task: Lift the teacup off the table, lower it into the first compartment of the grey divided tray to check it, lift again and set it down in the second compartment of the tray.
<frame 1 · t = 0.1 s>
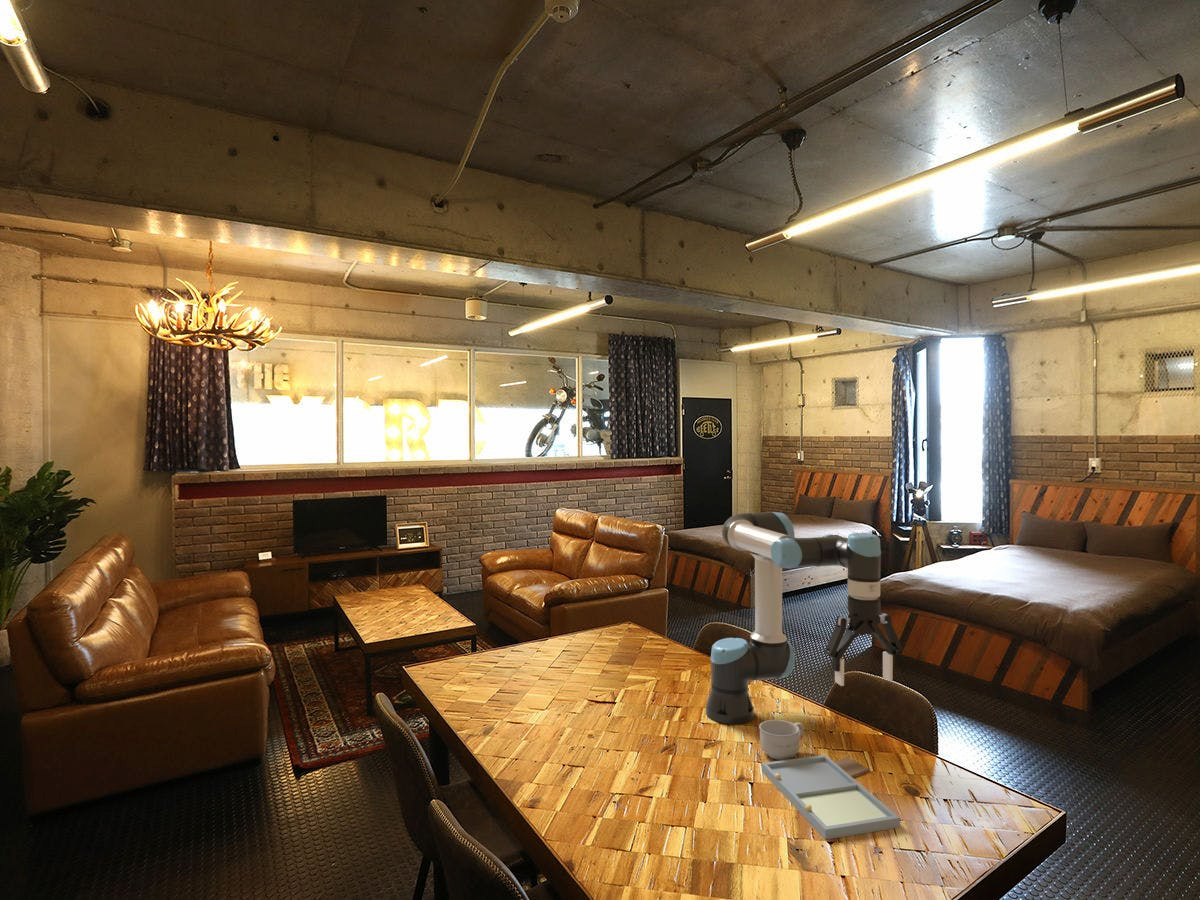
hand: (863, 681, 153), 28 cm above the table, fingers open, 13 cm apart
teacup: (784, 754, 173), on the table
walnut coaster: (849, 770, 165), on the table
grey divided tray: (825, 797, 151), on the table
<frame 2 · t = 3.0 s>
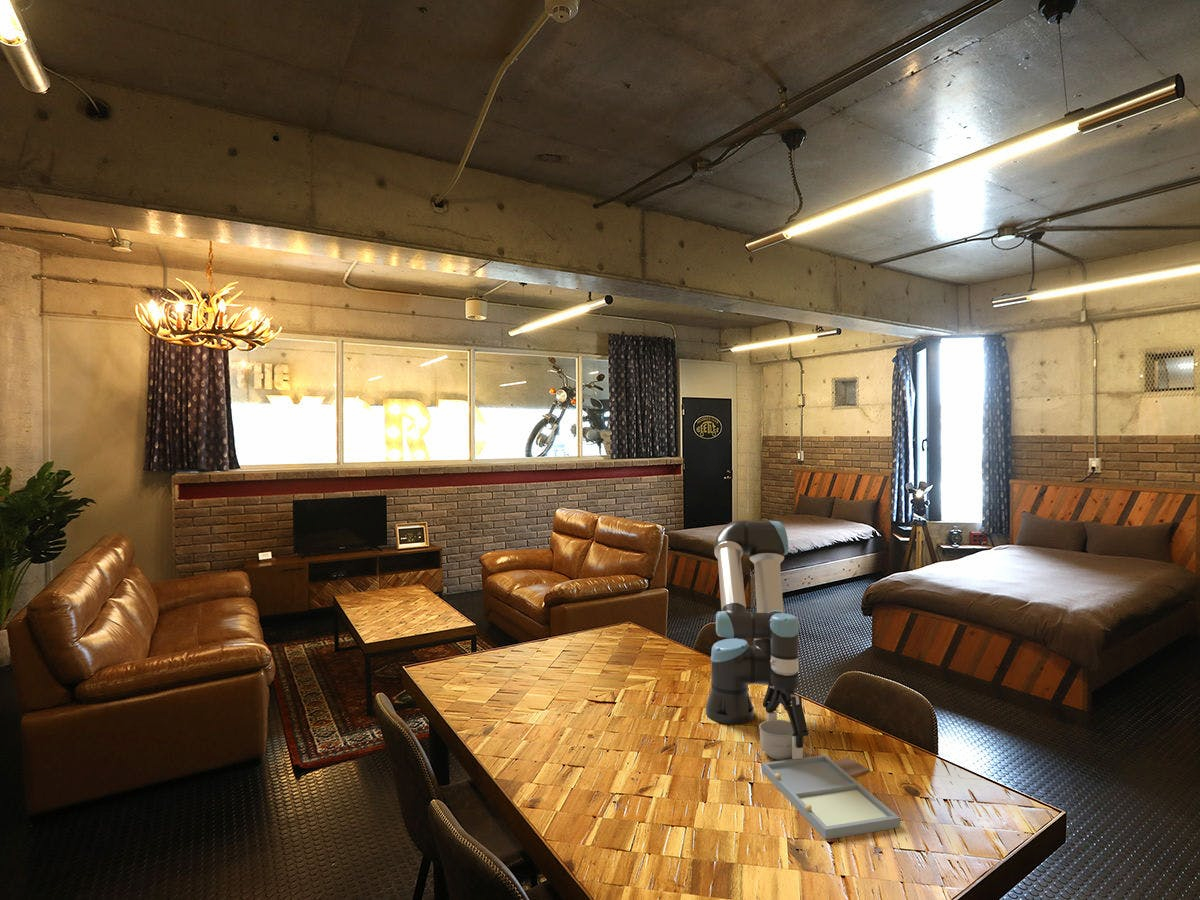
hand: (784, 746, 172), 2 cm above the table, fingers open, 13 cm apart
nothing on the table moved.
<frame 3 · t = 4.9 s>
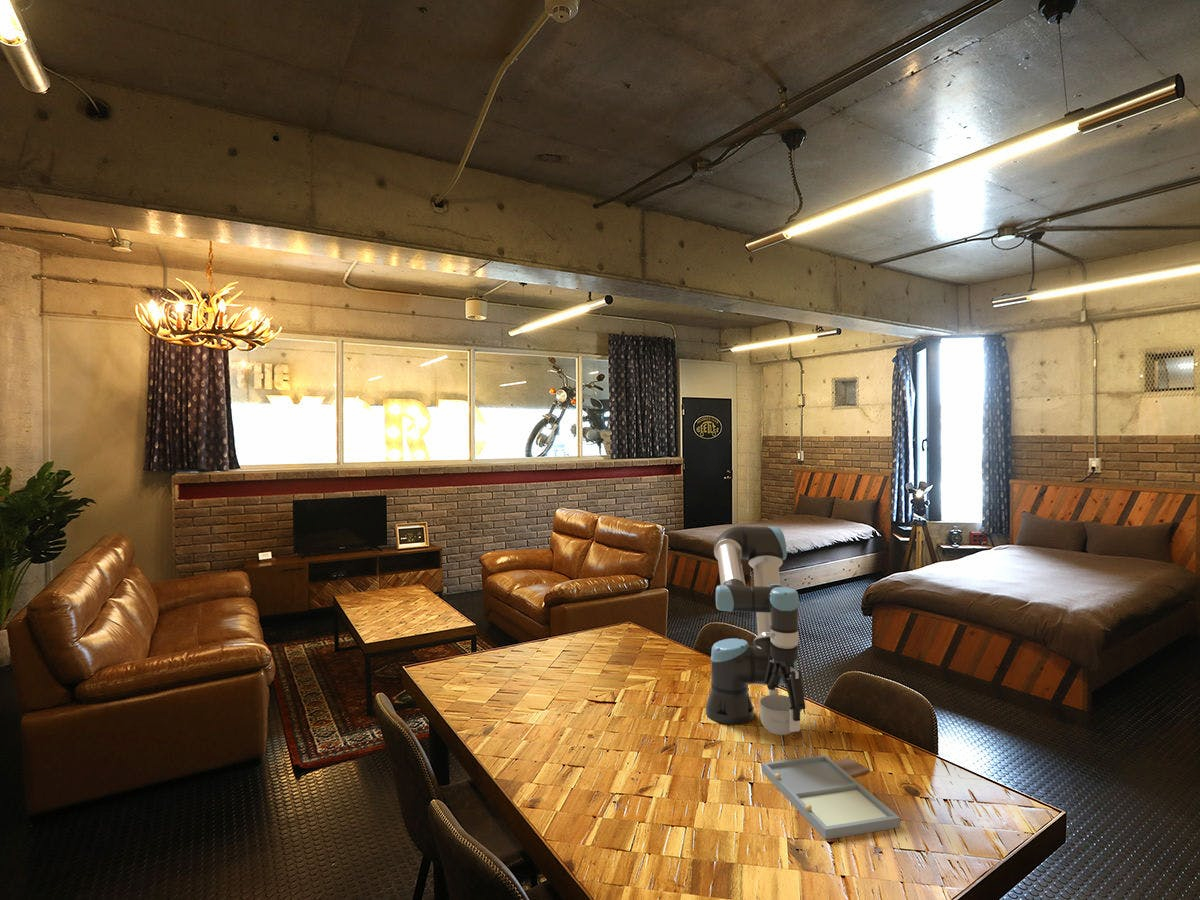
hand: (783, 721, 173), 9 cm above the table, fingers closed on teacup, 11 cm apart
teacup: (783, 729, 174), point 6 cm above the table, touching gripper
everything else where it was.
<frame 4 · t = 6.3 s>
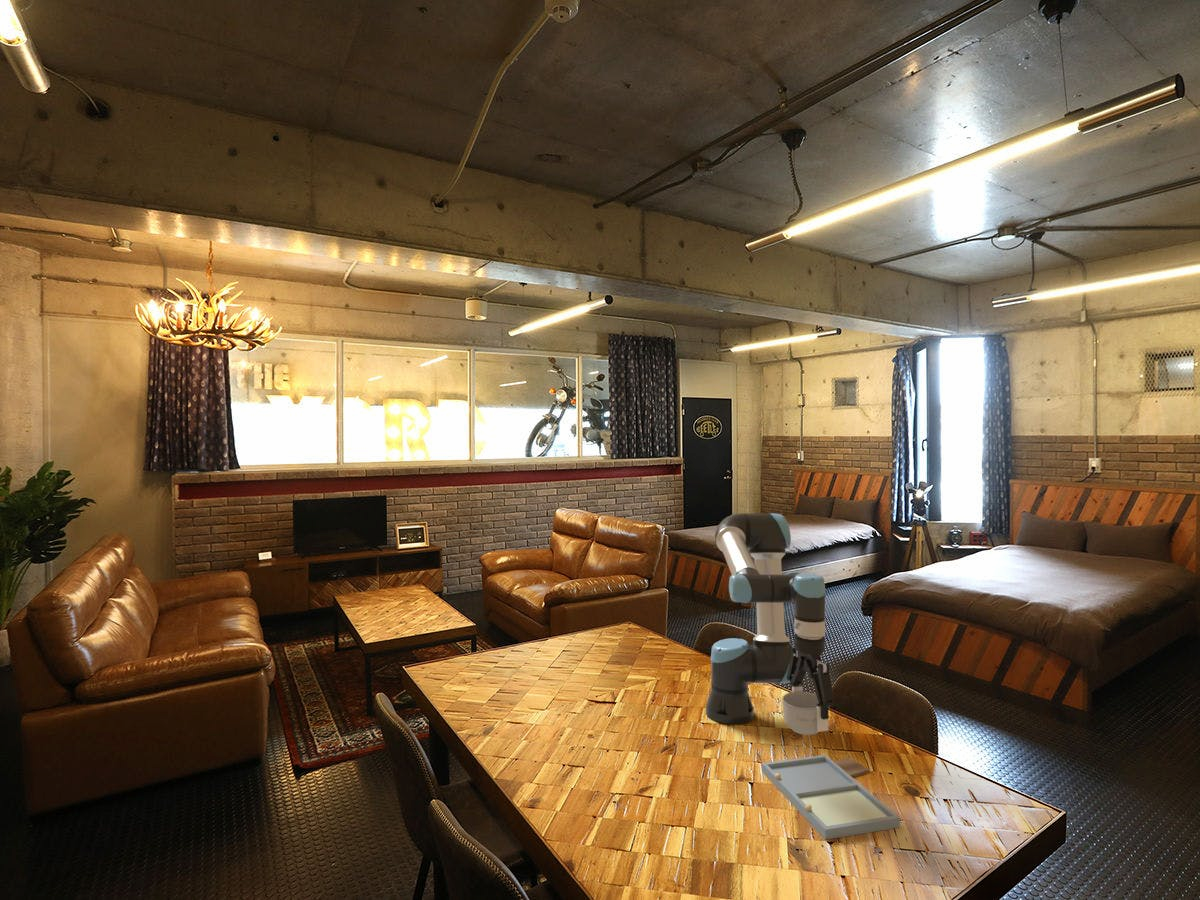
hand: (809, 720, 158), 16 cm above the table, fingers closed on teacup, 11 cm apart
teacup: (809, 729, 158), point 13 cm above the table, touching gripper
everything else where it was.
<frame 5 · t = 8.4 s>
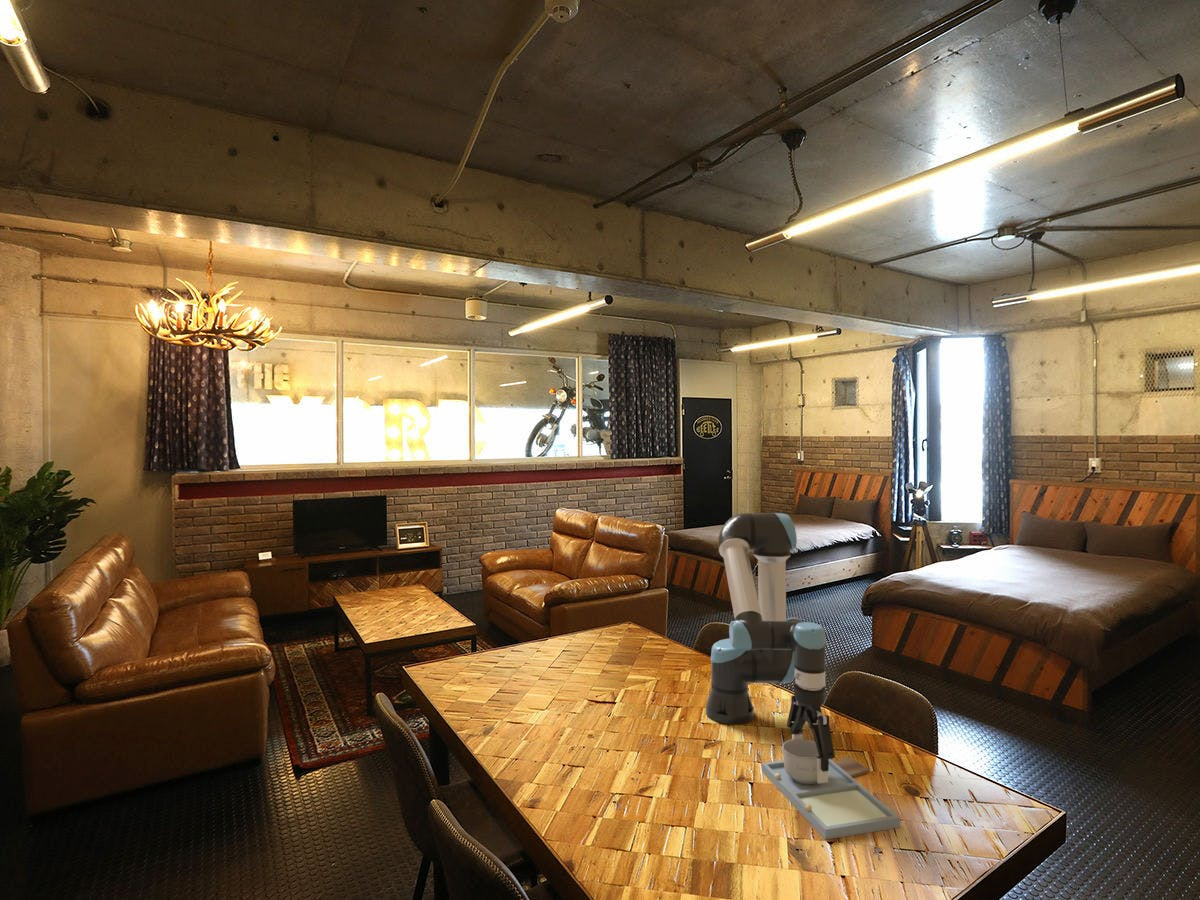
hand: (809, 770, 158), 3 cm above the table, fingers closed on teacup, 11 cm apart
teacup: (809, 777, 158), point 1 cm above the table, touching gripper, grey divided tray
everything else where it was.
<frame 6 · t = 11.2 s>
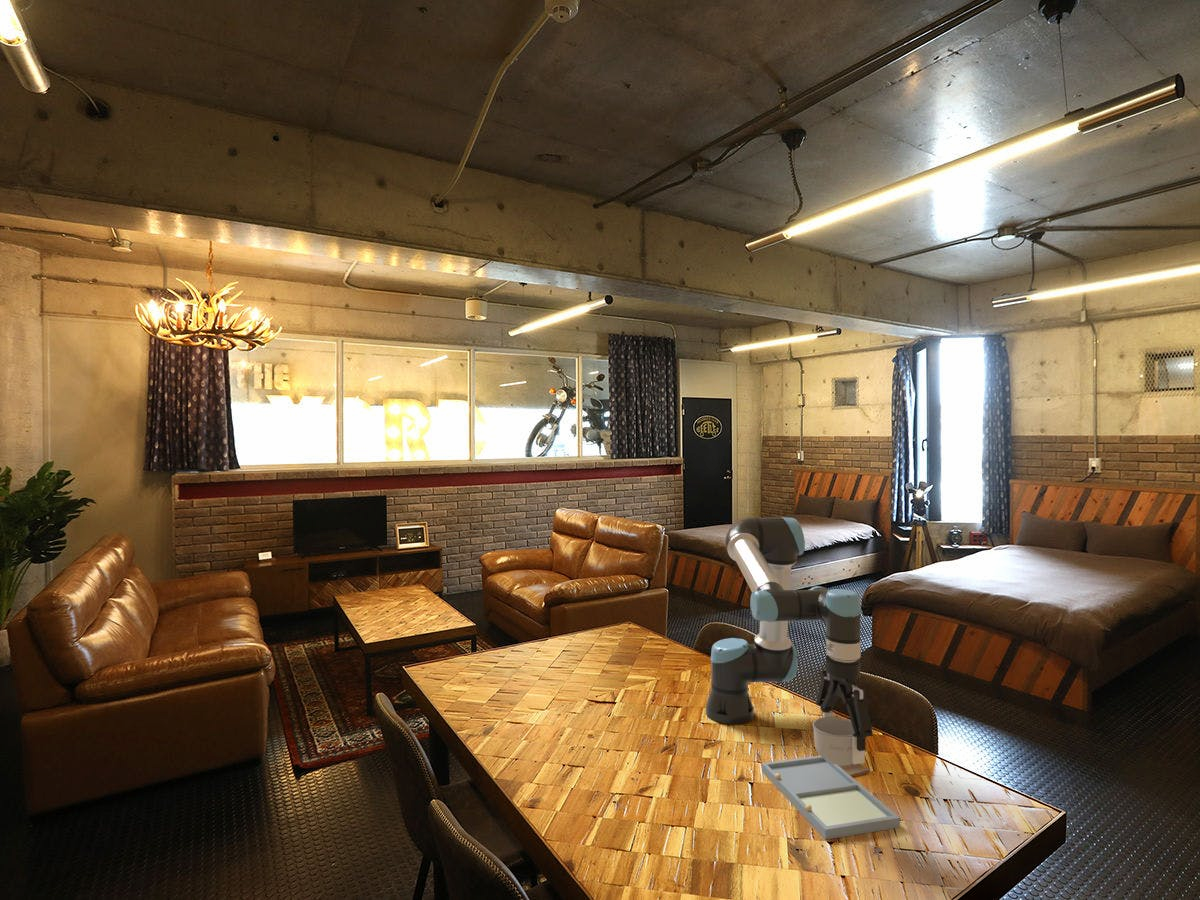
hand: (842, 750, 144), 15 cm above the table, fingers closed on teacup, 11 cm apart
teacup: (842, 758, 144), point 13 cm above the table, touching gripper
everything else where it was.
when the fingers open (3 cm above the table, at t = 14.2 s): teacup stays where it is, resting on grey divided tray.
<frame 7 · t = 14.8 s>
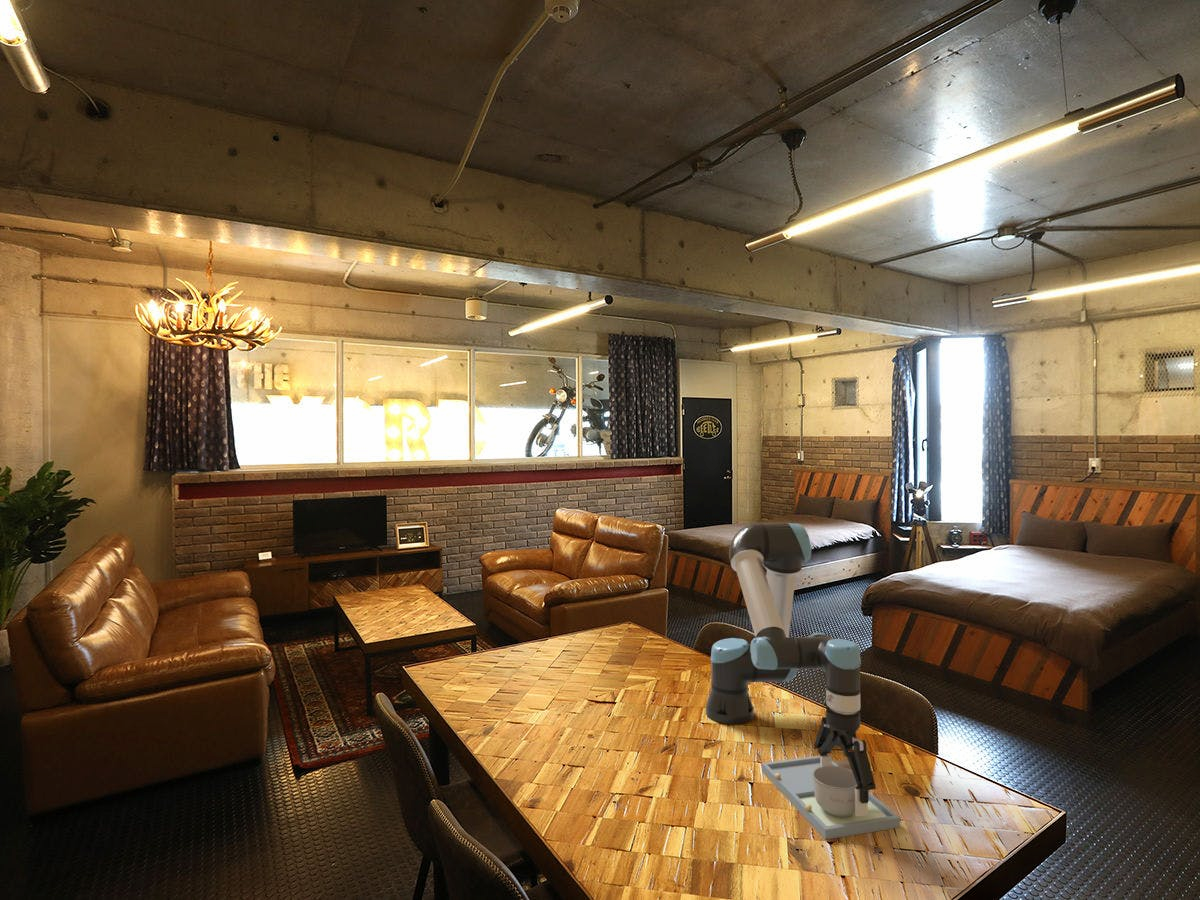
hand: (842, 798, 145), 4 cm above the table, fingers open, 13 cm apart
teacup: (842, 808, 145), point 1 cm above the table, touching grey divided tray
everything else where it was.
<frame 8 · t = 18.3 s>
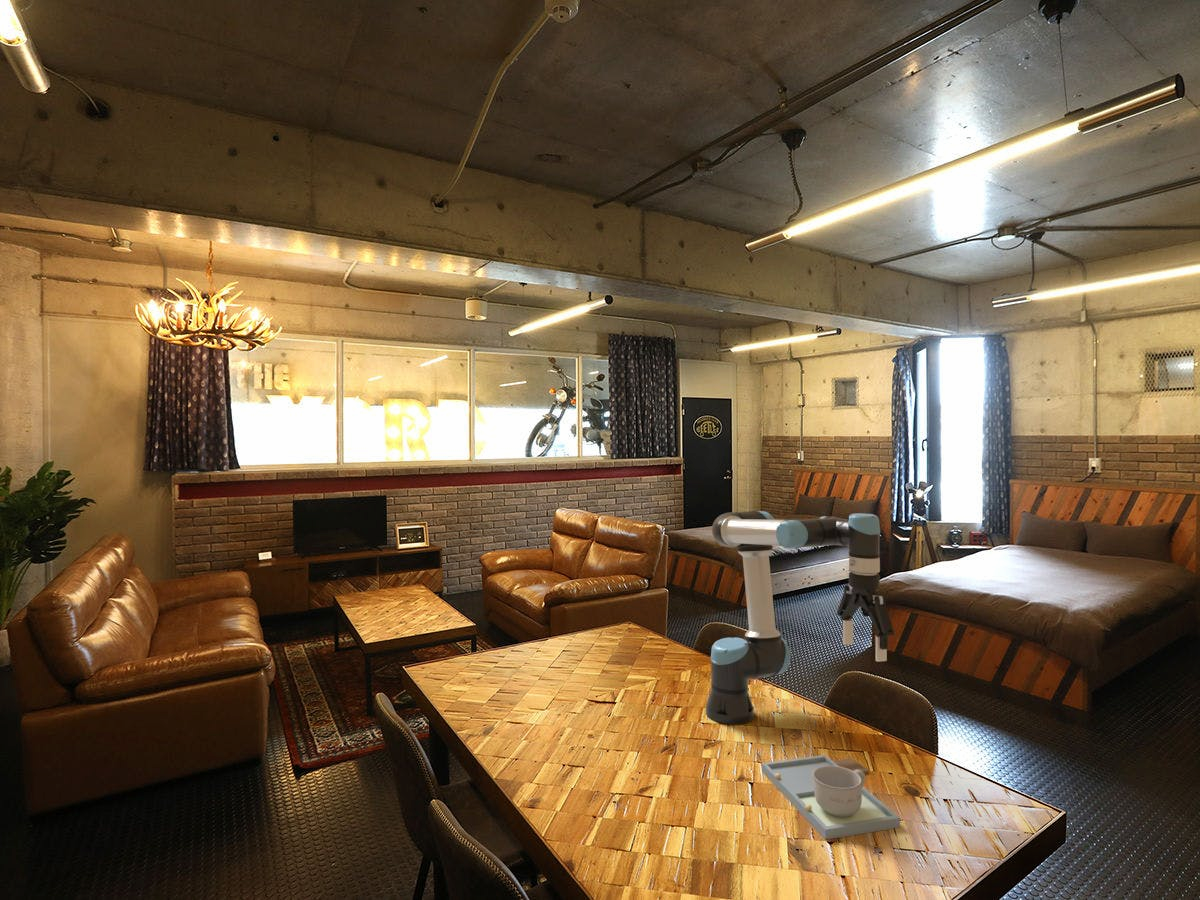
hand: (863, 652, 163), 32 cm above the table, fingers open, 13 cm apart
nothing on the table moved.
at the end: teacup inside the target area on the grey divided tray (0.1 cm from its centre), point 1.1 cm above the grey divided tray's base; teacup tilted 0°; the gripper is holding nothing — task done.
